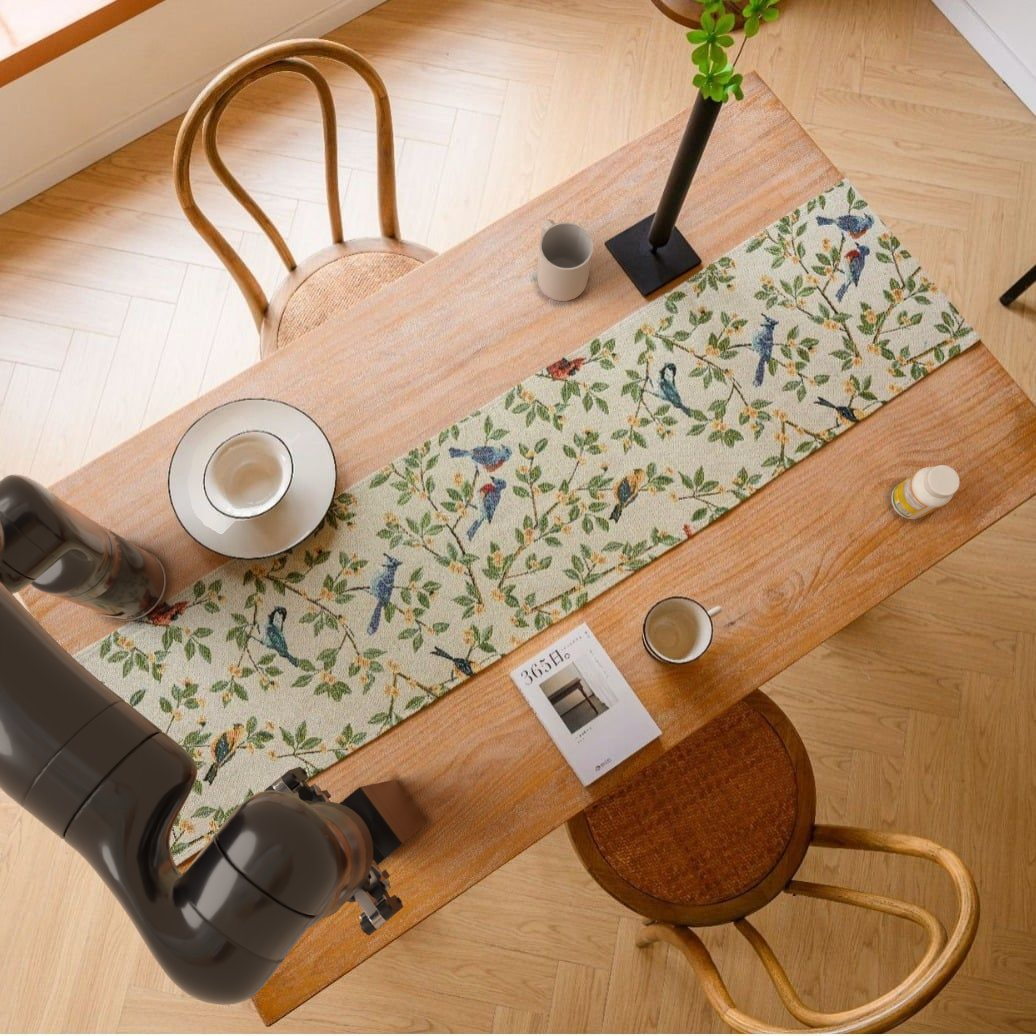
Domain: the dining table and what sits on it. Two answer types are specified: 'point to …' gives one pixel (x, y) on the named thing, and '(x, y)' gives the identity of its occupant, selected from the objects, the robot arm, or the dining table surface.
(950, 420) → the dining table surface
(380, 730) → the dining table surface
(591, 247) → the cup
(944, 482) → the supplement bottle
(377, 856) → the holder
